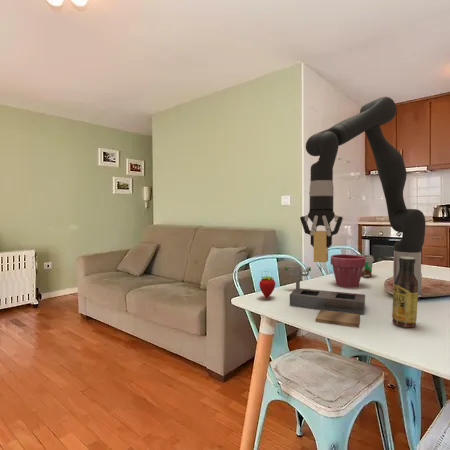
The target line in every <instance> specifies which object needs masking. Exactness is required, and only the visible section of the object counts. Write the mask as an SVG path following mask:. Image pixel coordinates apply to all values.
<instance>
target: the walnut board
mask: <svg viewBox="0 0 450 450" xmlns="http://www.w3.org/2000/svg"><path fill="white" fill-rule="evenodd" d="M360 320H361V314H354V313H346V312H337V311H329V310H321V309H319V312H318V313H317V315H316V317H315V322H316V323H322V324H323V323H324V324H328V325H335V326H337V325H338V326H345V327H351V328H352V327H353V328H359V327H360Z"/></svg>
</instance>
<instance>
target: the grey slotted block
mask: <svg viewBox="0 0 450 450" xmlns="http://www.w3.org/2000/svg"><path fill="white" fill-rule="evenodd" d="M289 306H290V307H297V308H305V309H306V308H307V309H312V308H313V309H314V310H326V311H335V312H343V313H351V314H360V315H365V309H366V294H362V293H353V292H341V291H340V292H339V291H332V290H322V289H320V290H319V289H311V288H301V287H300V288H296V287H295V288H294V290H292V291H291V293H289Z"/></svg>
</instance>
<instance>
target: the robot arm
mask: <svg viewBox="0 0 450 450" xmlns="http://www.w3.org/2000/svg"><path fill="white" fill-rule="evenodd" d="M397 110H398V109H397V105H396V103H395V101H394V99H393V98H391V97H390V96H389V97H388V96H383V97H379V98H376V99H374V100H372V101H370V102H368V103H365V104H364V105H362V106H361V107H360V111H359V113H358V114H355V115H353V116H350V117H348V118H346V119H343V120H342V121H339V122H338V123H336V124H334V125H333V126H331V127H329V128H327V129H324V130H322V131H319V132H317V133H314V134H312V135H311V136H309V137H308V139H307V141H306V143H305V150H306V152H307V154H308V155H310V156H312V157H318V160H317V161H316V162H315V163H313V164H312V165H311V166H310V178H309V179H310V180H309V181H310V183H309V192H308V193H309V194H308V195H309V210H308V213H307V215H304V216H303V215H302V216H300V218H299V219H300V221H301V225H302V229H303V231H304V234H306V235H309V236H310V246H311V247H313V248H314V231H317V229H318V227H319V226H321V227H324V228H325V231H326V232H327V235H328V236H327V248H328V249H329V248H331V246H332V245H333V236H334V235H337V234H338V233H339V231H340V227H341V225H342V222H343V219H344V217H343V216H339V215H336V214H335V211H334V180H333V179H334V165H335V161H336V159H337V155H338V151H339V147H340V146H343V145H344V144H346V143H348V142H349V141H351V140H353V139H355V138H356V137H357V136H359V135H361V134H363V133H364V132H365V136H366V138H367V141H368V143H369V145H370V148H371V152H372V155H373V159H374V162H375V167H376V171H377V174H378V177H379V179H380V184H381V187H382V191H383V192H382V193H383V194H384V198H385V204H386V210H387V216H388V221H389V225H390V227H391V228H392V229H393V231H394V232H397V233H401V234H402V237H401V239H400V240H398V241H396V242H395V243H394V244H393V268H392V269H393V271H392V272H393V275H392V277H393V278H392V279H393V280H392V289H393V288H394V282H395V280H396V277H397V275H398V273H399V266H400V263H399V258H400V257H413V258H415V264H414V275H415V277H416V279H417V281H418V295H421V296H422V289H423V288H422V287H423V286H422V283H423V281H422V280H423V277H422V276H423V273H422V249H423V247H424V246H423V245H424V244H425V235H426V225H427V224H426V223H427V222H426V216H425V214H424V213H423V211H422V210H420V209H417V208H407V206H406V202H405V199H404V190H405V185H406V181H407V169H406V164H405V161H404V157H403V155H402V154H401V153H400V151H399V150H397V149H396V148H395V147H394V146H393V145H392V144H391V143H390V142H389V141H388V140H387V139H386V137H385V135H384V134H383V133H384V132H383V131H382V129H381V126H382V125H385V124H387V123H389V122H391V121H392V120H393V119H394V118H395V117H396V115H397ZM309 220H310V221H311V223H312V224H311V229H310V227H309V225H308V221H309ZM333 220H334V222H335V225H334V229H333V230H332V227H331V222H332V221H333Z"/></svg>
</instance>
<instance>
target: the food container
mask: <svg viewBox="0 0 450 450" xmlns="http://www.w3.org/2000/svg"><path fill="white" fill-rule="evenodd" d="M355 255H358V256H364V257H365V266H364V267H363V270H362V274H361V278H363V279H369V278H372V274H373V273H372V271H373V263H374V262H375V260H374V259H375V258H374V256H373V255H370V254H361V253H360V254H355Z"/></svg>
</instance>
